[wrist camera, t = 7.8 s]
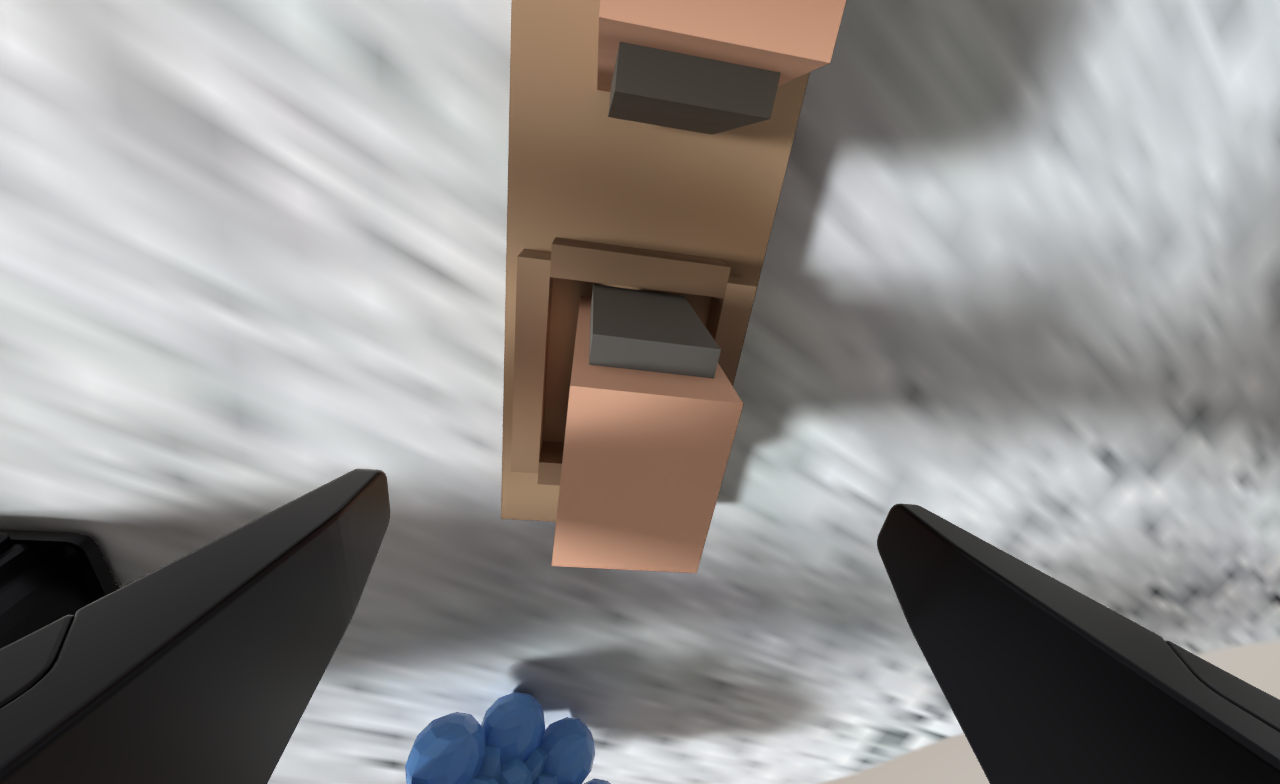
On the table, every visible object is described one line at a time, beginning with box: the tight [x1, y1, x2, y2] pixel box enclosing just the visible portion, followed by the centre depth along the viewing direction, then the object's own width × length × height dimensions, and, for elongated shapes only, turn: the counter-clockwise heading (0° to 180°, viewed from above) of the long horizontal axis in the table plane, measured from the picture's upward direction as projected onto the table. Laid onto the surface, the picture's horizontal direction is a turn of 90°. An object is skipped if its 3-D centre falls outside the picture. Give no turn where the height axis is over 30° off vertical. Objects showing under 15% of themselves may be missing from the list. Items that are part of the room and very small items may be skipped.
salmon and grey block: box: [552, 284, 743, 573], centre depth 11 cm, size 5×3×6 cm, turn 171°
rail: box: [501, 0, 846, 522], centre depth 11 cm, size 20×7×8 cm, turn 172°
